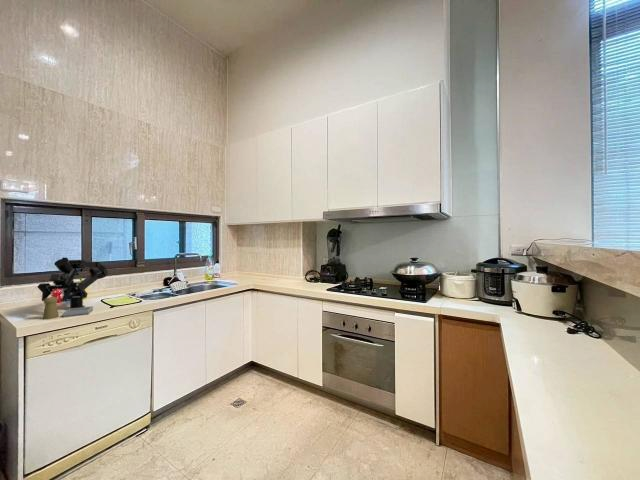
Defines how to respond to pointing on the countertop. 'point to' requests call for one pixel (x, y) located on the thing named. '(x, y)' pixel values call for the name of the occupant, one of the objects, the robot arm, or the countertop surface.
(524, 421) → the countertop surface
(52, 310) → the cork
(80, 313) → the grey tray
